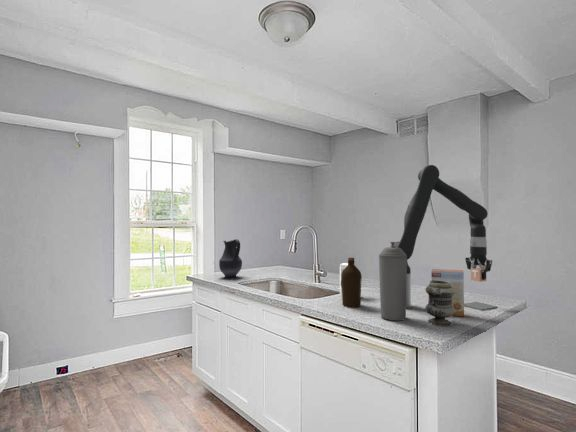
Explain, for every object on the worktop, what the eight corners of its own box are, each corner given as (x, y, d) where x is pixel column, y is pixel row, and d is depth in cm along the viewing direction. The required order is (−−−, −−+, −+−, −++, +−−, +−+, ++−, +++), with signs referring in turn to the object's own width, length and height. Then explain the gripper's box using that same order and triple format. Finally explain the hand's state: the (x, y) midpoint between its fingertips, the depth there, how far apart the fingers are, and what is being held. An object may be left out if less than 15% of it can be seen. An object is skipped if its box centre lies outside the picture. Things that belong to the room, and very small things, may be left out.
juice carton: (344, 294, 217) (344, 262, 217) (357, 295, 212) (357, 263, 212) (338, 296, 211) (338, 263, 211) (351, 298, 206) (351, 264, 206)
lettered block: (479, 281, 182) (479, 269, 182) (470, 280, 186) (470, 268, 186) (486, 280, 184) (486, 268, 184) (477, 279, 189) (477, 267, 189)
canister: (396, 313, 174) (395, 240, 174) (413, 320, 162) (413, 242, 162) (373, 315, 170) (372, 241, 170) (389, 323, 158) (388, 243, 158)
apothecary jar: (440, 328, 150) (440, 285, 150) (419, 320, 161) (419, 280, 161) (461, 324, 155) (461, 282, 155) (439, 317, 166) (439, 278, 166)
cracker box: (464, 314, 172) (463, 270, 172) (464, 317, 166) (464, 271, 166) (432, 311, 178) (432, 268, 178) (431, 314, 172) (431, 270, 172)
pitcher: (234, 275, 291) (234, 237, 291) (249, 278, 275) (248, 239, 275) (215, 277, 280) (214, 238, 280) (229, 281, 264) (228, 240, 264)
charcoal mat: (481, 310, 177) (481, 309, 177) (460, 305, 188) (460, 304, 188) (497, 307, 183) (497, 306, 183) (476, 302, 193) (476, 301, 193)
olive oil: (343, 308, 185) (343, 259, 185) (339, 303, 195) (339, 256, 195) (364, 307, 185) (363, 258, 185) (359, 302, 195) (358, 256, 196)
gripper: (461, 245, 190) (461, 277, 190) (486, 247, 177) (486, 281, 177) (470, 244, 193) (471, 276, 193) (496, 246, 180) (496, 280, 180)
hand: (478, 278), depth 185 cm, fingers closed on lettered block, 5 cm apart
